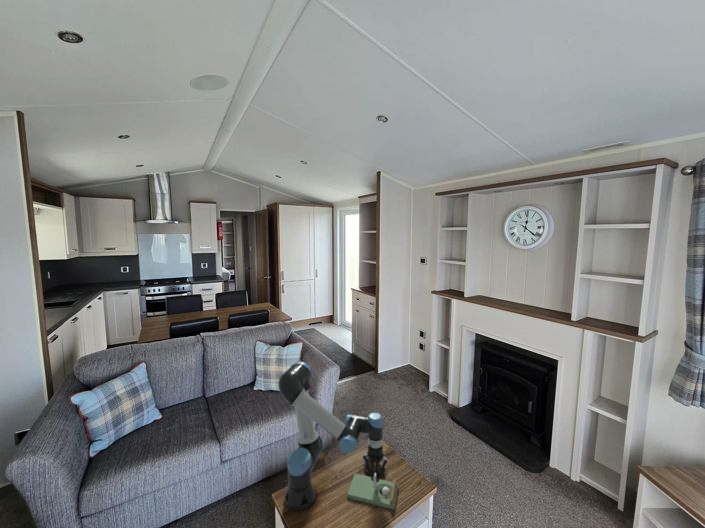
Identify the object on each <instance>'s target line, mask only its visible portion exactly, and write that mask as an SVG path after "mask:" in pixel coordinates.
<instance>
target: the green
mask: <svg viewBox="0 0 705 528" xmlns="http://www.w3.org/2000/svg"><path fill="white" fill-rule="evenodd" d="M397 479H398V478H395V477H394V478H393V481H389V480H385V479H380V478H379V482H377V487H376V489H375V488H373V481H372V480H371V476H367V475H363V474H359V473H354V475H353V478H352V480H351V483H350V486H349V489H348V491H347V493H346V498H348V499H351V500H355V501H359V502H364V503H367V504H371V505H375V506H379V507H383V508H387V509H391V510H395V505H396V501H397V494H398V490H399V483H398V482H397ZM384 487H388V488H389V491H390V493H389V495H388V496H384V495H383V494H381V493H382V489H383V488H384Z"/></svg>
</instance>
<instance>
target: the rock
mask: <svg viewBox="0 0 705 528" xmlns="http://www.w3.org/2000/svg"><path fill="white" fill-rule="evenodd" d="M368 459H369V463H370V467H371V460H370V458H369V457H368ZM382 465H383V464H382V463H380V462H379V472H381V468H382ZM363 469H364V472H365V473H367V474H368V472H367V467H366V463H364V464H363ZM385 472H386V467H384V470H383V474H382V475H384V474H385ZM374 473H376V462H375V472H374Z"/></svg>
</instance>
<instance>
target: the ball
mask: <svg viewBox="0 0 705 528" xmlns="http://www.w3.org/2000/svg"><path fill="white" fill-rule="evenodd" d="M381 493H382V494H381V495H383V496H388V495H389V493H390V491H389V488H388V487H384V488H383V489H382V491H381Z"/></svg>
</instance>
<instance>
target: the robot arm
mask: <svg viewBox="0 0 705 528" xmlns="http://www.w3.org/2000/svg"><path fill="white" fill-rule="evenodd" d="M312 372H313V371H312V368H311V366H310V365H309V364H307V363H306V362H304V361H296V362H295V363H293V364H292V365H290V367H288V369H286V371H284V372H283V373H282V374H281V376H280V378H279V380H278V390H279V392H280V395H281V396H282V397H283V399H284V400H285V402H287V403H288V404H289V405H290V406H291V407H294V410H295V411H294V412H295V416H296V423H297V428H298V434H299V435H298V437H297V445H298V446H297V447H298V448H296V449H294V450H292V452H290V454H289V455H288V458H287V463H286V467H287V487H286V491H285V494H284V502H285V506H286V507H287V508H288V509H289V510H291V511H296V512H301V511H304V510H307V509H309V508H310V507H311V506H312V505H313V504H314V502H315V498H316V491H315V488H314V485H313V481H312V471H313V469H314V467H315V465H316V463H317V462H318V459H319V457H320V456H321V454H322V452H323V449H324V439H323V437H322V436H321V435H320V434H319V432H318V431H317V430H316V429H315V427H316V426H315V423H316V424H317V425H318V426H320V428H322V429H323V430H324V431H325V432H327V433H328V434H329V435H330V436H332V438H334V439H335V440H336V441H337V442H338V447H339V448H340V451H341V452H342V453H345V454H351V453H352V452H353V451H354V450H355V449H356V447H357V444H358V441H359V438H360V436H361V434H362V433H363V434H367V452H364V453H363V455H362V458H363V460H364V462H365V463H366V467H367V472H368V473H367V472H366V473H367V474H368V475H370V477H371V480H372V481H373V488H375V489H376V487H377V482H379V479H380V477H381V478H382V476H383V475H384V474H383V470H384V468H386V467H385V466H386V465H387V463H388V459H389V458H388V457H386V456H385V454H384V453H383V451H384V450H383V449H384V435H383V433H384V421H383V416H382V415H381V414H380V413H378V412H370V413H369V414H368V416H362V415H357V414H347V415H346V416H345V418H344V422H343V421H341V420H340V419H339V418H337V417H336V416H335V415H334V413H332V412H330V411H329V410H328V409H327V408H325V407H324V406H323V405H321V403H319V402H318V401H317V400H315V399H314V397H312V396H311V395H310V392H309V391H310V389H311V381H310V379H311V377H312V374H313V373H312ZM368 458H370V460H371V467H370V463H369V459H368ZM381 461H382V464H381V465H382V468H381V472H379V463H380V462H381ZM375 462H376V473H374V472H375ZM365 463H364V464H365Z"/></svg>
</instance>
